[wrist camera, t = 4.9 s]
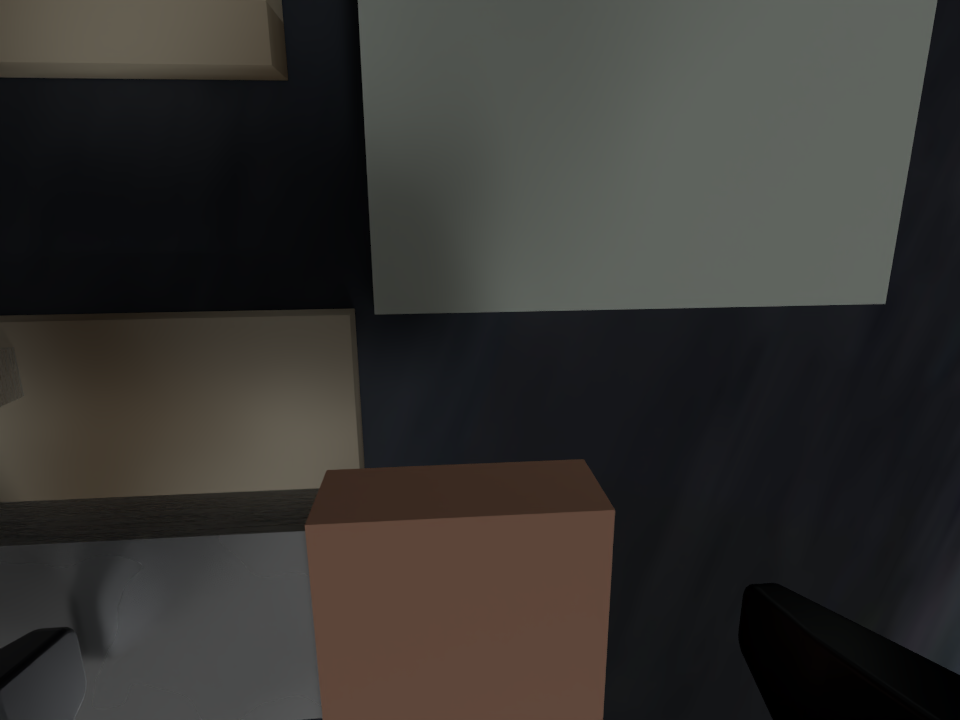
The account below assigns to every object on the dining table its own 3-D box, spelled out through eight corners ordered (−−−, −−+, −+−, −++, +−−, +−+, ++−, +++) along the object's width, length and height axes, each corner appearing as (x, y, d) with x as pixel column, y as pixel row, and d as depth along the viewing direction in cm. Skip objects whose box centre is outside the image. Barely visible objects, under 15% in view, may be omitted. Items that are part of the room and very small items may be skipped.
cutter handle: (-467, 678, 9) (-875, 889, 6) (-565, 486, 8) (-1085, 630, 6) (567, 612, 11) (618, 763, 8) (572, 442, 10) (633, 539, 7)
